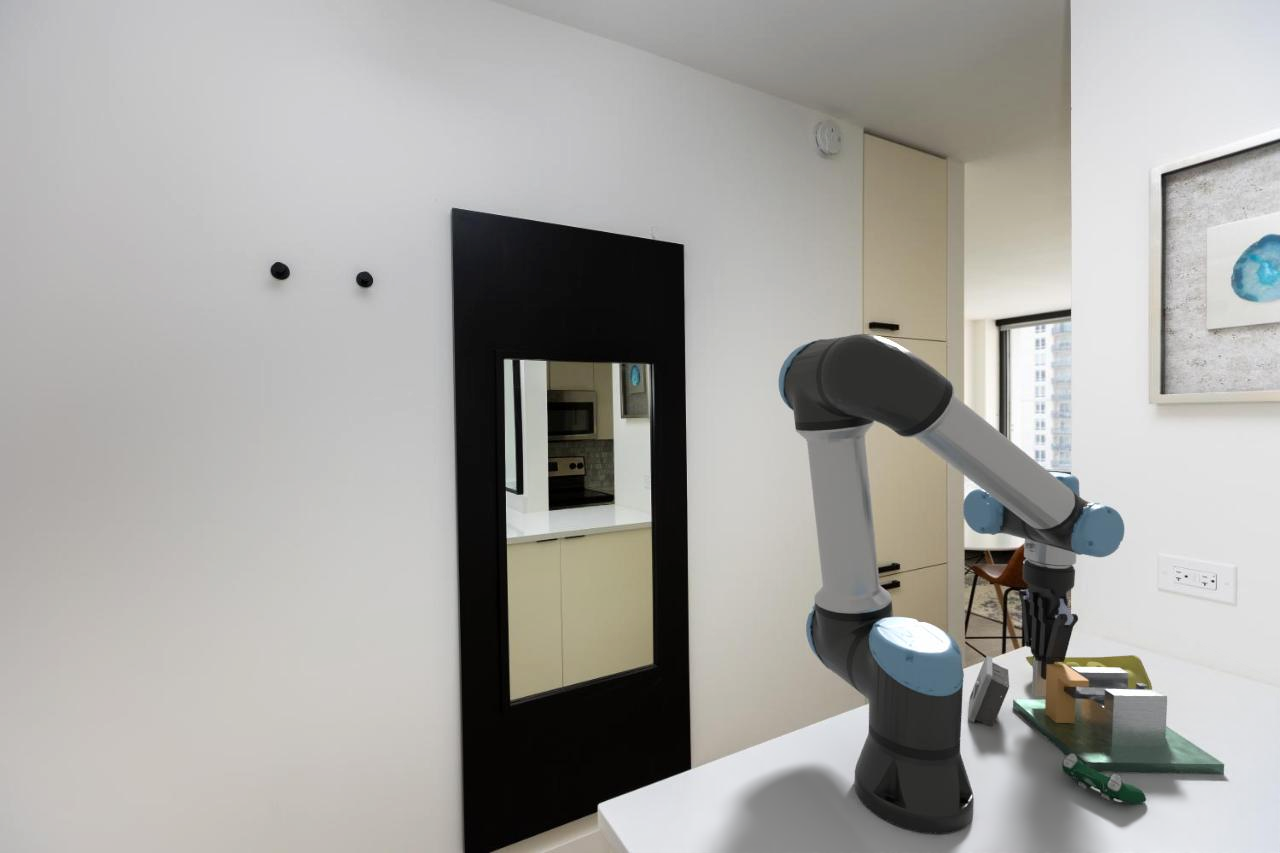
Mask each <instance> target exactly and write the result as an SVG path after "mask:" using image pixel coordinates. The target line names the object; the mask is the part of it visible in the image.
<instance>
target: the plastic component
mask: <svg viewBox="0 0 1280 853" xmlns="http://www.w3.org/2000/svg"><path fill="white" fill-rule="evenodd" d="M1025 659H1026V661H1027V662H1028V664H1029V665H1030V666H1031V667H1033V655H1031V656H1026V657H1025ZM1054 664H1065V665H1066V666H1068V667H1069V668H1071V667H1119V668H1121V669H1123V670H1124V671H1126V672H1128V688H1130V689H1136V683H1144V684H1145V685H1147V689H1148V690H1153V686H1152V682H1151V680H1150V676H1149V675H1148V673H1147V671H1146V668H1145V666H1144V664H1143V662H1142V660H1141V658H1140V657H1139V656H1137V655H1133V654H1131V655H1128V654H1127V655H1116V656H1115V655H1114V656H1113V655H1112V656H1100V657H1099V656H1098V657H1097V656H1096V657H1095V656H1094V657H1093V656H1092V657H1091V656H1090V657H1088V656H1086V657H1083V656H1081V657H1076V656H1075V657H1073V656H1071V657H1070V656H1067V657H1066V656H1065V660H1064V662H1055V663H1054Z"/></svg>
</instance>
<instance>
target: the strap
mask: <svg viewBox="0 0 1280 853" xmlns="http://www.w3.org/2000/svg"><path fill="white" fill-rule="evenodd" d="M1105 689H1130V688H1097V687H1064V692H1066V693H1067V694H1069V695H1070V696H1071V697H1073V698H1074V699H1102V700H1104V697H1105ZM1130 690H1148V689H1146V688H1143V689H1130Z"/></svg>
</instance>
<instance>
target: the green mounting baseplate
mask: <svg viewBox="0 0 1280 853" xmlns="http://www.w3.org/2000/svg"><path fill="white" fill-rule="evenodd" d="M1071 669H1072V670H1074V671H1075V672H1077V673H1078V674H1080V675H1081V676H1083V677H1084V678H1086V679H1087V680H1089V687H1097V688H1128V672H1126V671H1124V670H1123V669H1121V668H1119V667H1071ZM1143 688H1146V689H1147V685H1145V684H1144V683H1136V689H1143ZM1045 701H1046V699H1017V698H1016V699H1013V700H1012V708H1013V709H1014V710H1015V709H1016V710H1017V711H1018V713H1019V714H1020V716H1022V717H1023V718H1024V719H1025V720H1026V719H1027V722H1028V723H1030V725H1032V726H1033V725H1034V726H1035V727H1036V729H1037V730H1038V731H1039V732H1040V734H1042V735H1043V736H1044V737H1045V738H1047V739H1048V740H1049V741H1050V742H1051V743H1052V744H1054V746H1055V747H1057V748H1058V749H1059V750H1060V751H1061V752H1062V753H1063V754H1065V756H1066V757H1067V756H1068V755H1070V754H1075V755H1076V758H1077V759H1078V760H1080V761H1082V762H1083V764H1084V765H1085V766H1087V767H1090V768H1092V769H1094V770H1096V771H1098V772H1100V773H1129V774H1131V773H1136V774H1138V773H1139V774H1140V773H1141V774H1147V773H1148V774H1198V775H1199V774H1202V775H1203V774H1205V775H1224V774H1225V763H1223V762H1222V761H1221V760H1219V759H1217V758H1215V757H1214V756H1213V755H1211V754H1209V753H1208V752H1207V751H1205V750H1203V749H1202V748H1200V747H1199V746H1197V745H1196V744H1194V743H1193V742H1191V741H1190V740H1188V739H1187V738H1186V737H1184V736H1183V735H1180V734H1179V733H1178V732H1177V731H1174V730H1173V729H1171V728H1170V727H1169V726H1167V712H1168V711H1167V710H1168V709H1167V707H1168V695H1166V694H1165V693H1163V692H1162V691H1160V690H1158V689H1152V690H1130V689H1105V697H1104V700H1102V699H1076V702H1075V723H1056V722H1055V721H1053V720H1052V719H1051V718H1050V717H1049V716H1047V715H1046V714H1045ZM1016 710H1015V711H1016ZM1017 711H1016V712H1017ZM1034 726H1033V727H1034ZM1035 727H1034V728H1035Z"/></svg>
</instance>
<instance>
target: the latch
mask: <svg viewBox="0 0 1280 853" xmlns="http://www.w3.org/2000/svg"><path fill="white" fill-rule="evenodd" d="M1064 687H1089V680H1087V679H1086V678H1084V677H1083V676H1081V675H1080V674H1078V673H1077V672H1075V671H1074V670H1072V669H1071V668H1069V667H1068V666H1066V665H1065V664H1047V671H1046V696H1045V700H1046V701H1045V714H1046V715H1047V716H1049V717H1050V718H1051V719H1052V720H1053V721H1055V722H1056V723H1075V702H1076V699H1074V698H1073V697H1071V696H1070V695H1069V694H1067V693H1066V692H1064Z"/></svg>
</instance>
